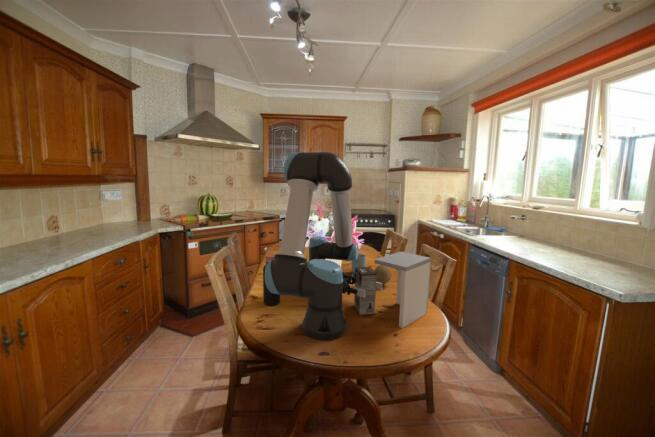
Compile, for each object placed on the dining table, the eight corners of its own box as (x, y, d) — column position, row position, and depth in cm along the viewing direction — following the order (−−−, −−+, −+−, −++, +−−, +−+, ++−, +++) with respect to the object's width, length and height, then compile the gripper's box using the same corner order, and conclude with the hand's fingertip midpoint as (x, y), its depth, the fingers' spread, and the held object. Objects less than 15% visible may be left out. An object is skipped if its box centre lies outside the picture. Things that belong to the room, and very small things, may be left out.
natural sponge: (395, 287, 144) (396, 267, 143) (378, 289, 142) (378, 268, 140) (385, 281, 153) (386, 262, 151) (369, 282, 150) (370, 263, 149)
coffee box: (353, 304, 124) (354, 266, 122) (368, 304, 125) (370, 266, 123) (359, 315, 115) (360, 274, 113) (375, 314, 116) (377, 273, 114)
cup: (364, 276, 159) (365, 258, 158) (350, 275, 161) (350, 256, 160) (366, 271, 167) (366, 254, 166) (352, 270, 168) (352, 253, 167)
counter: (402, 328, 106) (406, 267, 102) (372, 315, 115) (374, 259, 111) (427, 312, 118) (431, 257, 115) (398, 302, 127) (401, 251, 124)
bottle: (260, 304, 123) (259, 256, 120) (269, 298, 129) (268, 252, 126) (274, 307, 120) (274, 258, 117) (283, 300, 127) (283, 254, 124)
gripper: (349, 278, 140) (390, 292, 124) (312, 291, 124) (354, 308, 108) (349, 262, 139) (390, 274, 123) (312, 273, 123) (355, 288, 107)
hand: (373, 290), depth 116 cm, fingers closed on coffee box, 10 cm apart
